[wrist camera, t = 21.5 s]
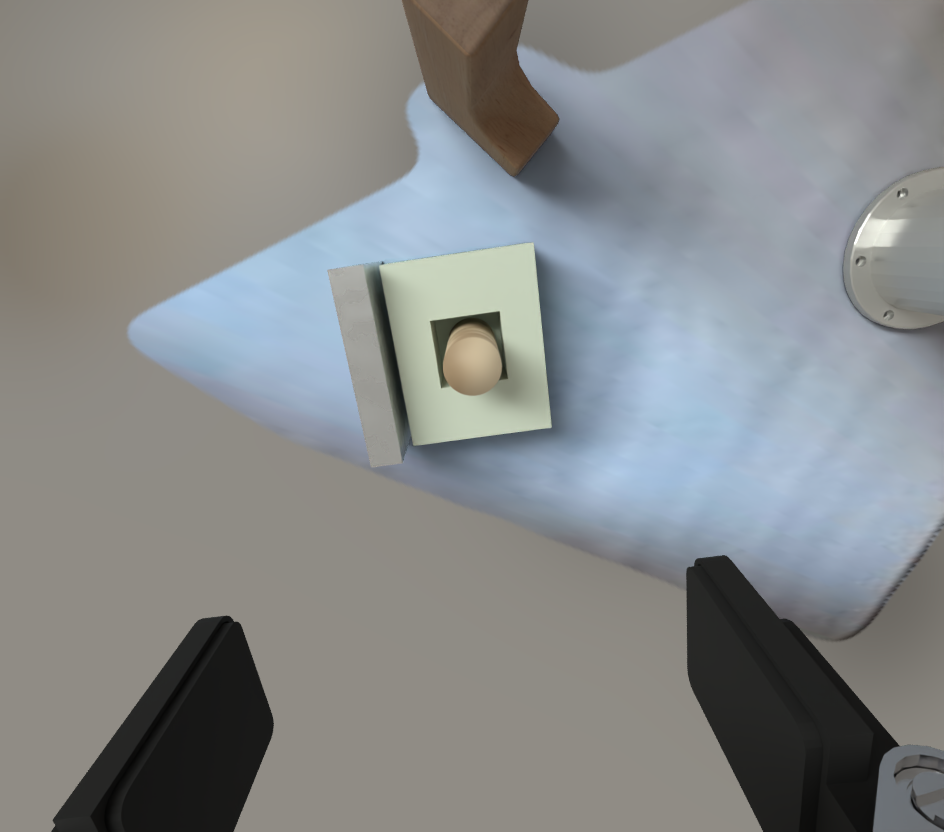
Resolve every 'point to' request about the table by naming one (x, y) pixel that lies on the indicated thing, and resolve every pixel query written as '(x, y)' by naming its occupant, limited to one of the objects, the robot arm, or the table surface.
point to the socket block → (428, 328)
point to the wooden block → (481, 74)
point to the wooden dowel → (472, 358)
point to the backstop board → (372, 361)
